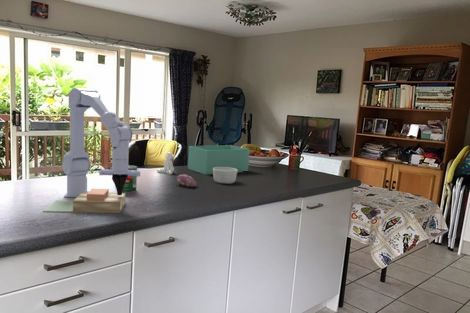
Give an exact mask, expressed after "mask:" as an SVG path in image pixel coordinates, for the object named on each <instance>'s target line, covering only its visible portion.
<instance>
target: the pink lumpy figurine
mask: <svg viewBox="0 0 470 313" xmlns="http://www.w3.org/2000/svg"><path fill="white" fill-rule="evenodd" d="M176 181H177V182H178V183H179V184H180V185H181V186H186V187H187V188H189V187H190V186H193V187H197V186H198V183H197V181H196V180H195V179H194V178H193V177H192V176H190V175H188V174H179V175H177V176H176Z"/></svg>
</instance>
